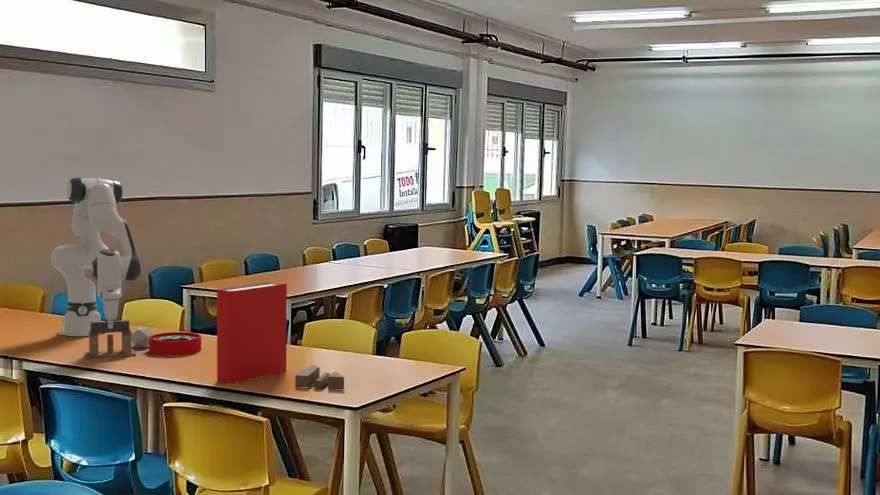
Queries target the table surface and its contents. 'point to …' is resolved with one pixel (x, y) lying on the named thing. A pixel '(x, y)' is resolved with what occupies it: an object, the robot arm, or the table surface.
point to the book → (251, 331)
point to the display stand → (110, 346)
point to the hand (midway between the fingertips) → (110, 327)
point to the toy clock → (175, 343)
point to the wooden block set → (318, 379)
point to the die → (141, 337)
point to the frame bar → (103, 328)
